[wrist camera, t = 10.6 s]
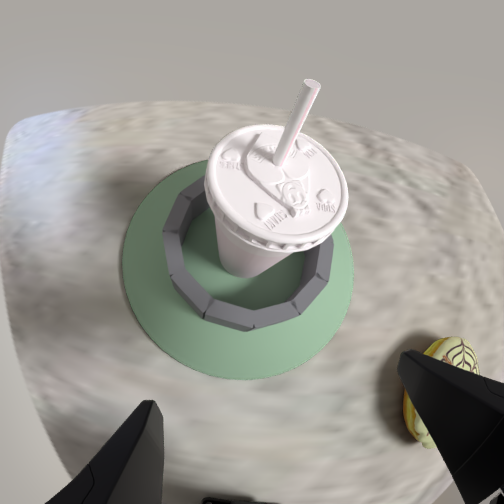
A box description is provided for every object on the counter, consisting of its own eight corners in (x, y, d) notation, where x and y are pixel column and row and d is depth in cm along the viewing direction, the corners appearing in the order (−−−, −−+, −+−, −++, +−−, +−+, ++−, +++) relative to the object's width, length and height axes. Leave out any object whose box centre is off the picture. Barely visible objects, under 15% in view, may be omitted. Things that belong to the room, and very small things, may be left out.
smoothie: (267, 206, 22) (342, 54, 9) (299, 281, 20) (437, 167, 7) (189, 226, 20) (193, 48, 7) (216, 309, 18) (267, 197, 5)
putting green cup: (330, 398, 17) (353, 404, 14) (90, 330, 16) (70, 325, 13) (357, 199, 25) (376, 179, 21) (176, 139, 23) (176, 112, 20)
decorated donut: (415, 462, 16) (440, 469, 13) (376, 391, 18) (406, 394, 15) (469, 392, 20) (493, 391, 16) (439, 320, 22) (466, 313, 18)
